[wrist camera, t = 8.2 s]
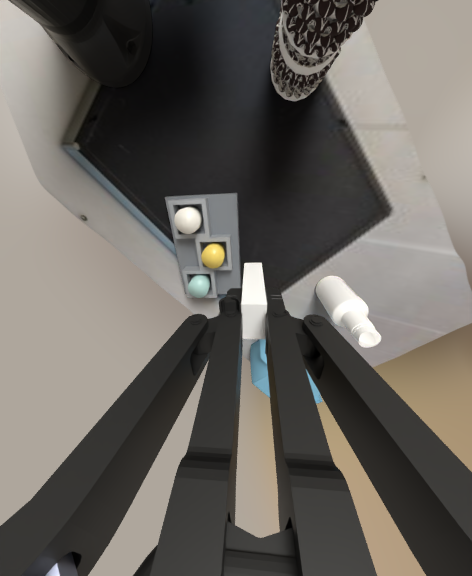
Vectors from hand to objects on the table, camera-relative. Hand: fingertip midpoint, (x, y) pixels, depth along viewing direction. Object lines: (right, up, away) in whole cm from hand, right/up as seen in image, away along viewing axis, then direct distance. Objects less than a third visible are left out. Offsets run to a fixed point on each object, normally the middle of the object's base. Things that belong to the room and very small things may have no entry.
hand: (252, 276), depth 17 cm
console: (-8, +8, +26) cm, 29 cm away
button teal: (-10, +1, +27) cm, 28 cm away
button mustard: (-6, +7, +23) cm, 25 cm away
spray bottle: (+22, -1, +29) cm, 36 cm away
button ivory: (-10, +13, +20) cm, 26 cm away
